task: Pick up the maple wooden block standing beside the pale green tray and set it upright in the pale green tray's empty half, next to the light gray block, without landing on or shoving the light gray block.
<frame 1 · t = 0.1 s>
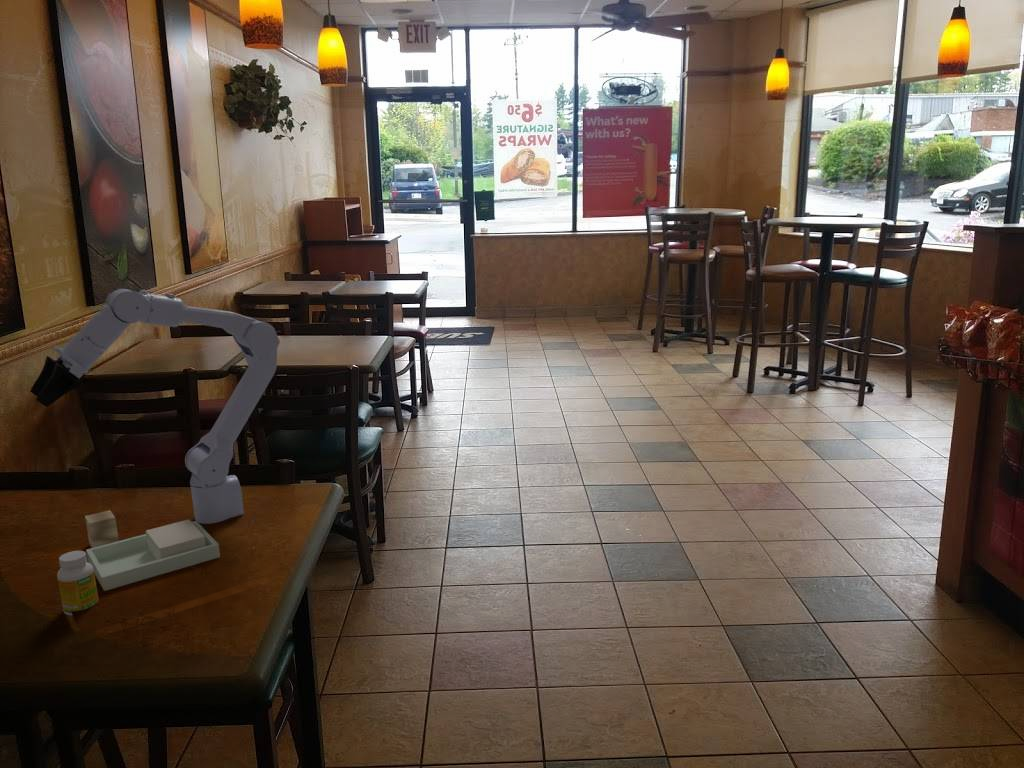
hand: (38, 399, 147), 32 cm above the table, tool tilted 50°, fingers open, 7 cm apart
maple block: (105, 549, 159), on the table
light gray block: (177, 552, 155), point 1 cm above the table, touching pale green tray
pale green tray: (155, 564, 153), on the table
supplement bottle: (81, 609, 138), on the table
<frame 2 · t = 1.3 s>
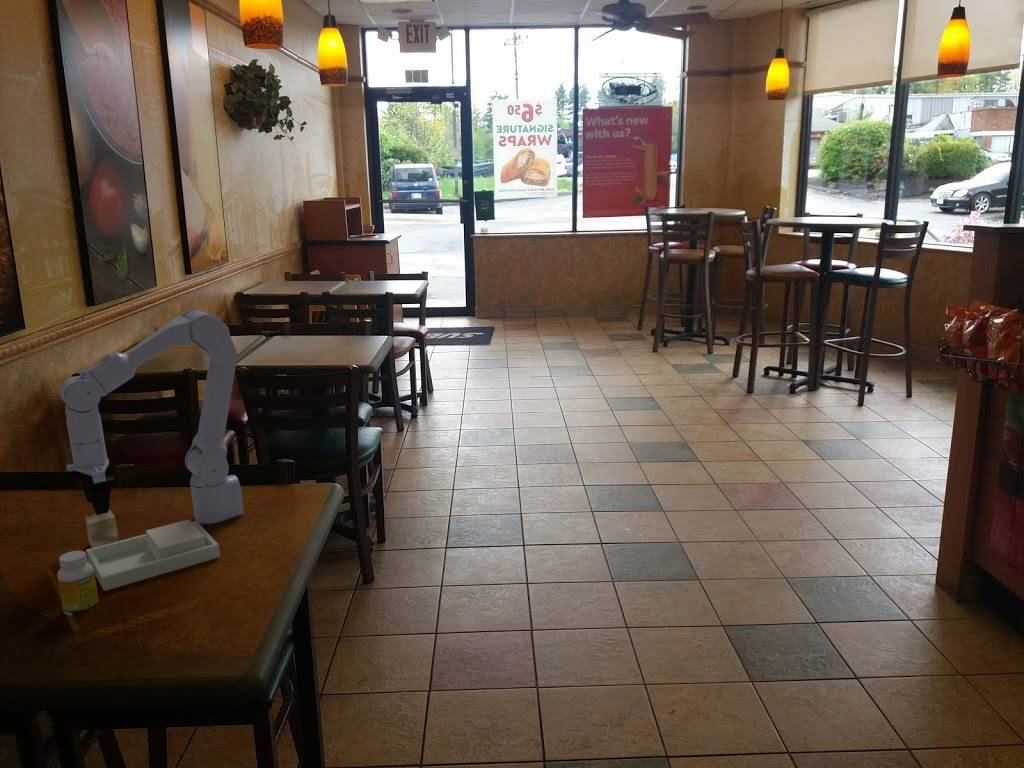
hand: (98, 507, 157), 9 cm above the table, tool pointing down, fingers open, 7 cm apart
nothing on the table moved.
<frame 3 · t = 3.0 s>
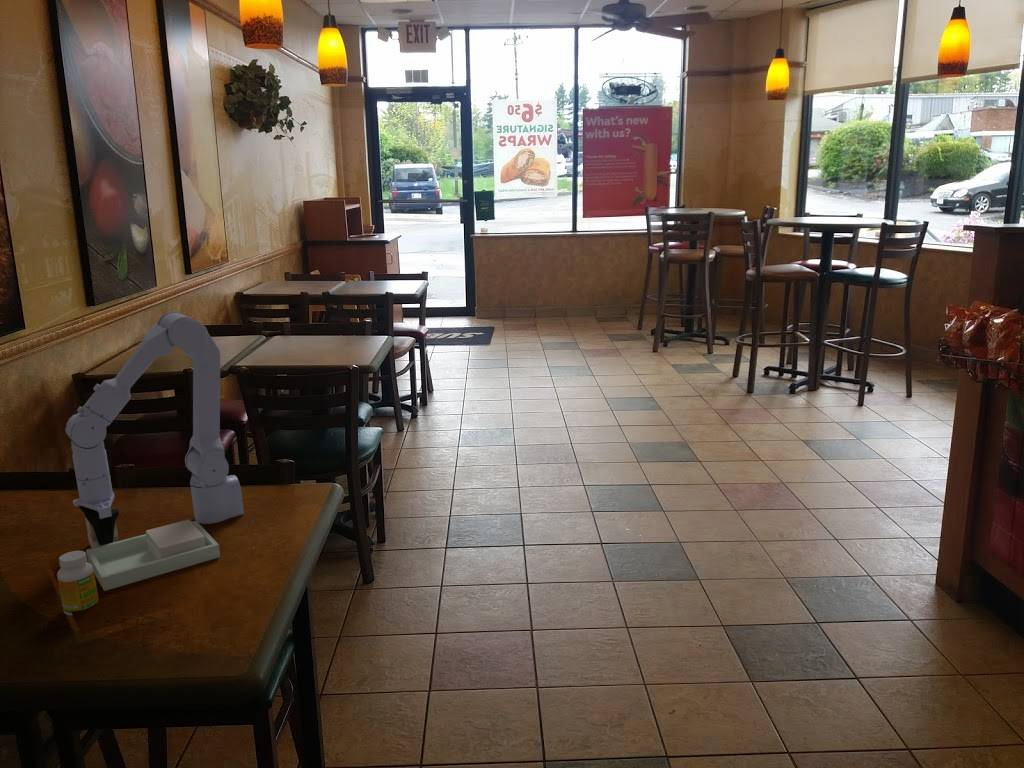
hand: (103, 540, 159), 2 cm above the table, tool pointing down, fingers closed on maple block, 4 cm apart
maple block: (105, 549, 159), on the table, touching gripper
everything else where it was.
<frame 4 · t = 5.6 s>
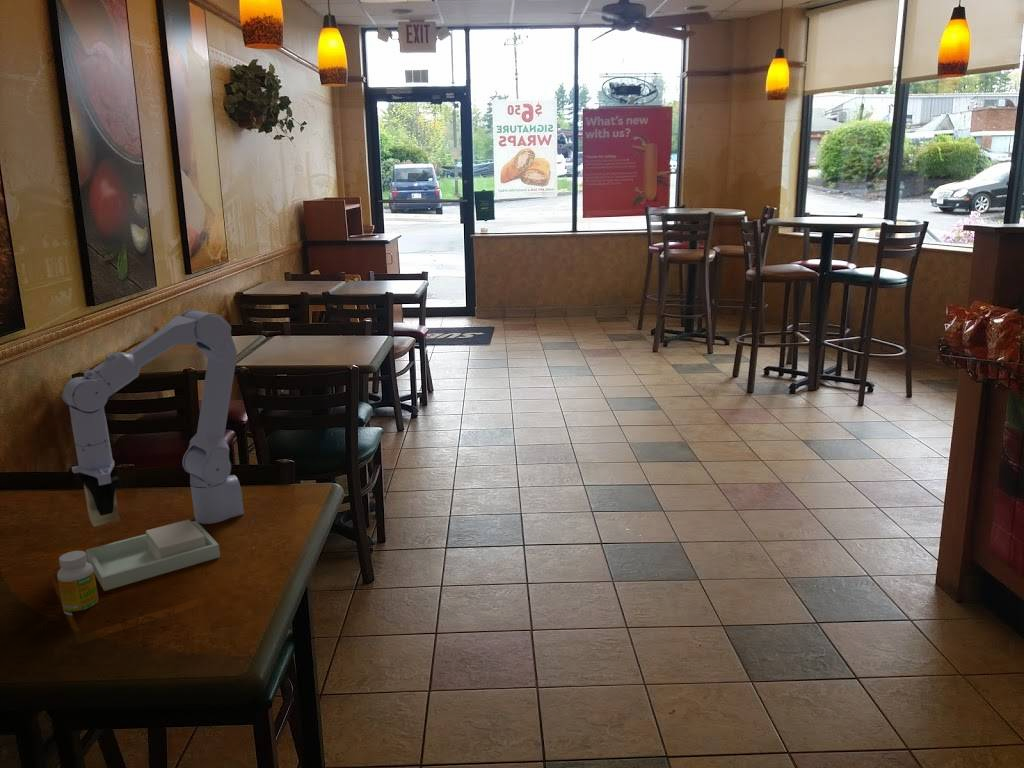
hand: (103, 509, 155), 9 cm above the table, tool pointing down, fingers closed on maple block, 4 cm apart
maple block: (104, 519, 155), point 7 cm above the table, touching gripper
everything else where it was.
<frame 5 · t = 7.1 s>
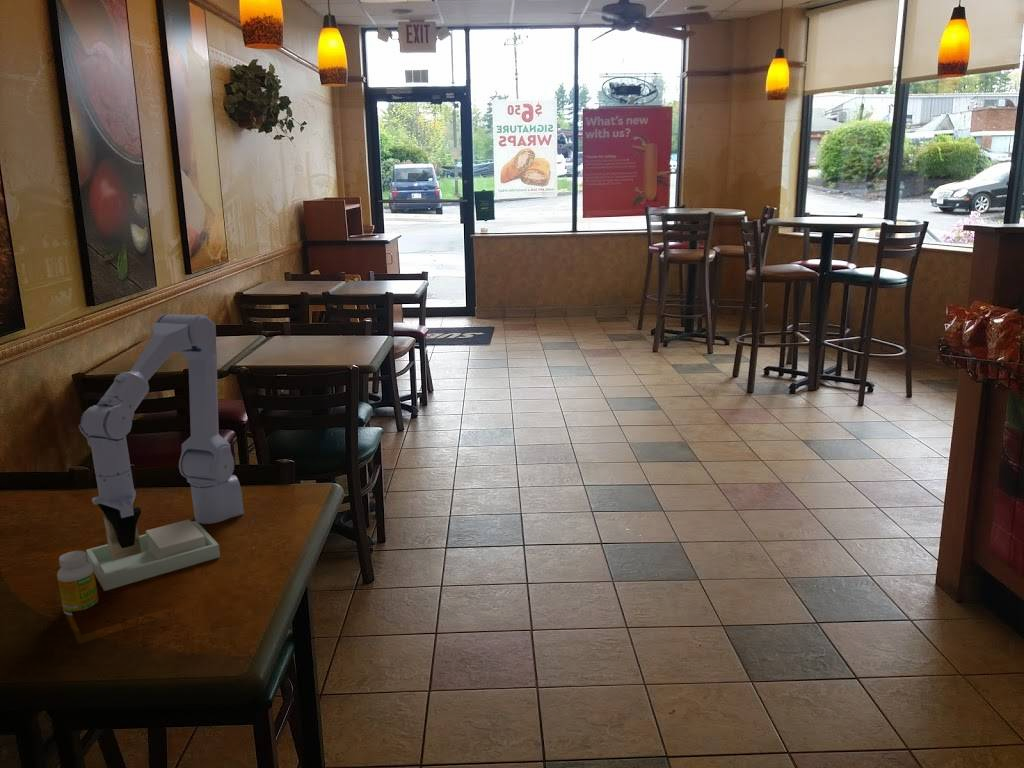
hand: (124, 541, 149), 6 cm above the table, tool pointing down, fingers closed on maple block, 4 cm apart
maple block: (125, 552, 149), point 4 cm above the table, touching gripper
everything else where it was.
when the fingers open (4 cm above the table, at t = 8.4 s): maple block drops 1 cm, resting on pale green tray.
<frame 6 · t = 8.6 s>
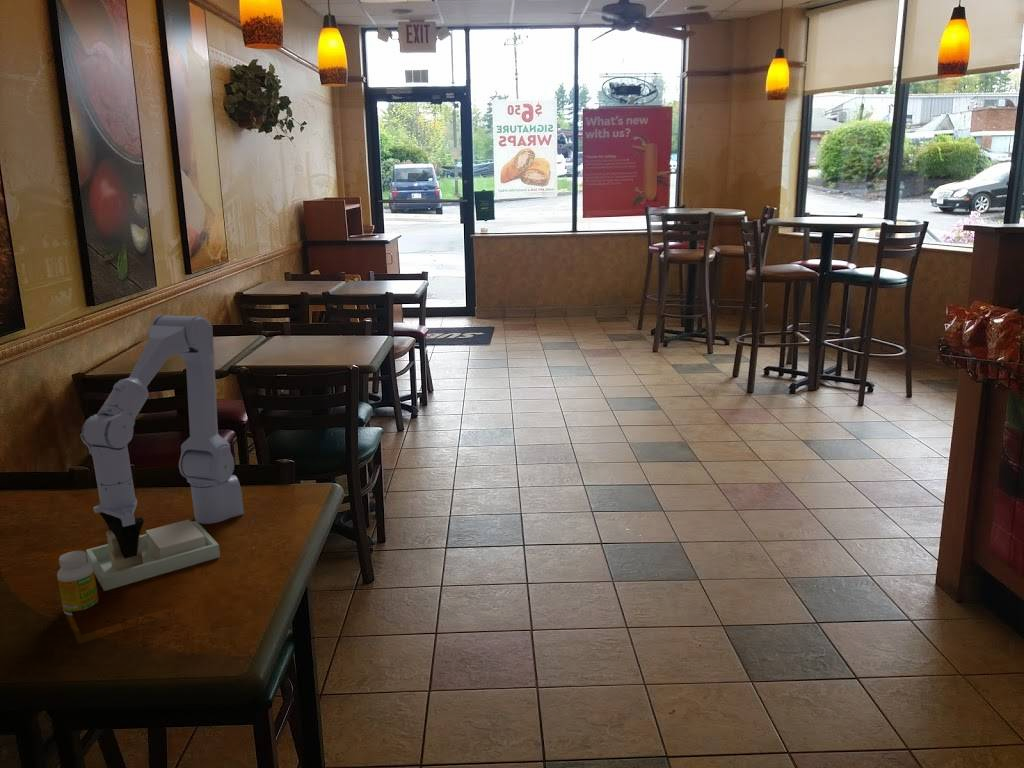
hand: (125, 549, 149), 4 cm above the table, tool pointing down, fingers open, 6 cm apart
maple block: (127, 566, 150), point 1 cm above the table, touching pale green tray
everything else where it was.
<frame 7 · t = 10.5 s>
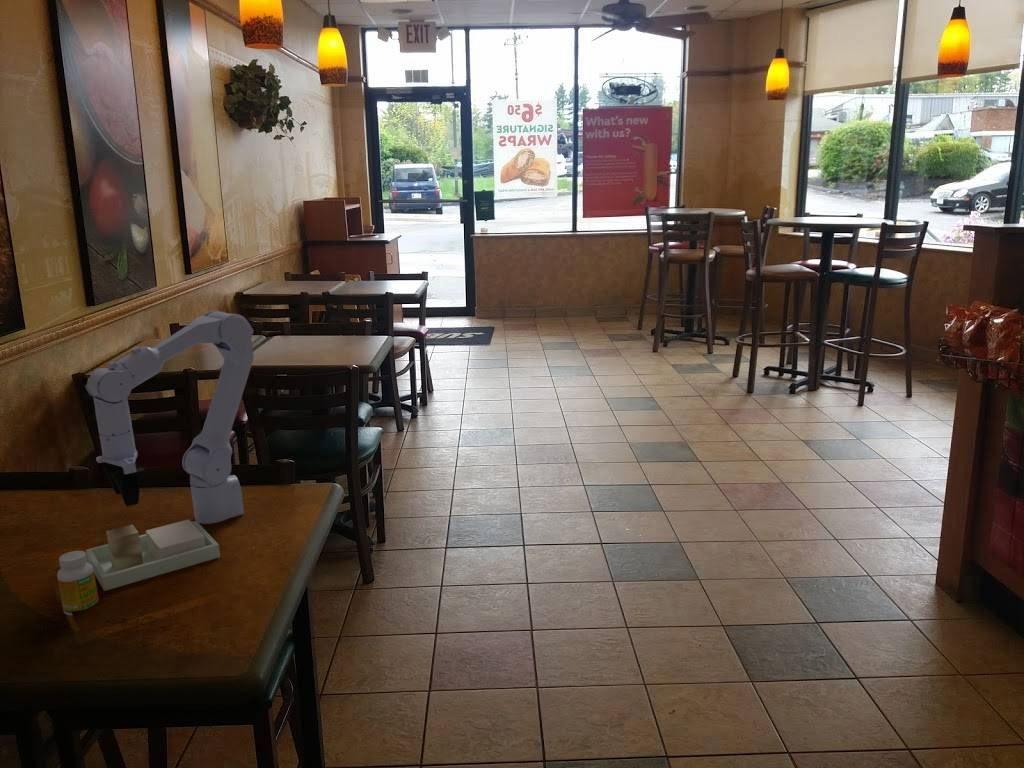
hand: (126, 498, 157), 10 cm above the table, tool pointing down, fingers open, 7 cm apart
nothing on the table moved.
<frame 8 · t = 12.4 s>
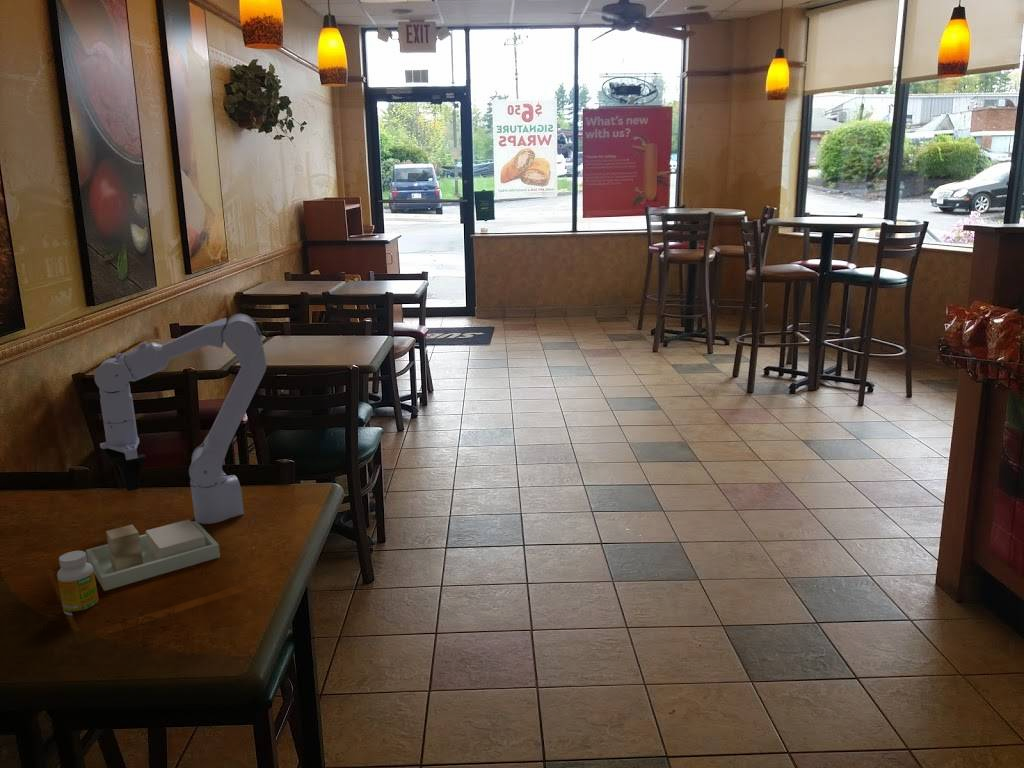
hand: (128, 484, 165), 10 cm above the table, tool pointing down, fingers open, 7 cm apart
nothing on the table moved.
at the end: maple block inside the target area on the pale green tray (0.4 cm from its centre), point 1.0 cm above the pale green tray's base; maple block tilted 0°; light gray block moved 0.0 cm from its start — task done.
